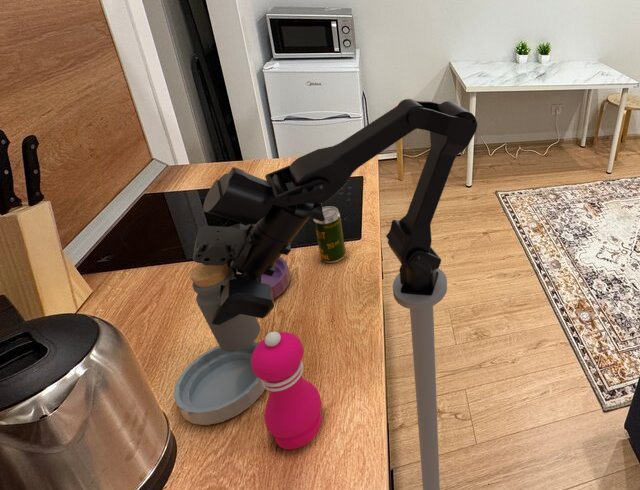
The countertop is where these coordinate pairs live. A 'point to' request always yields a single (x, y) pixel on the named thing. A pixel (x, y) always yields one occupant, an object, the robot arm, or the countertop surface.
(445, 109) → the robot arm
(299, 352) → the pepper mill
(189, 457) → the countertop surface
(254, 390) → the bowl
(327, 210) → the beer can
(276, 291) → the bowl
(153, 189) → the countertop surface
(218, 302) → the bottle
